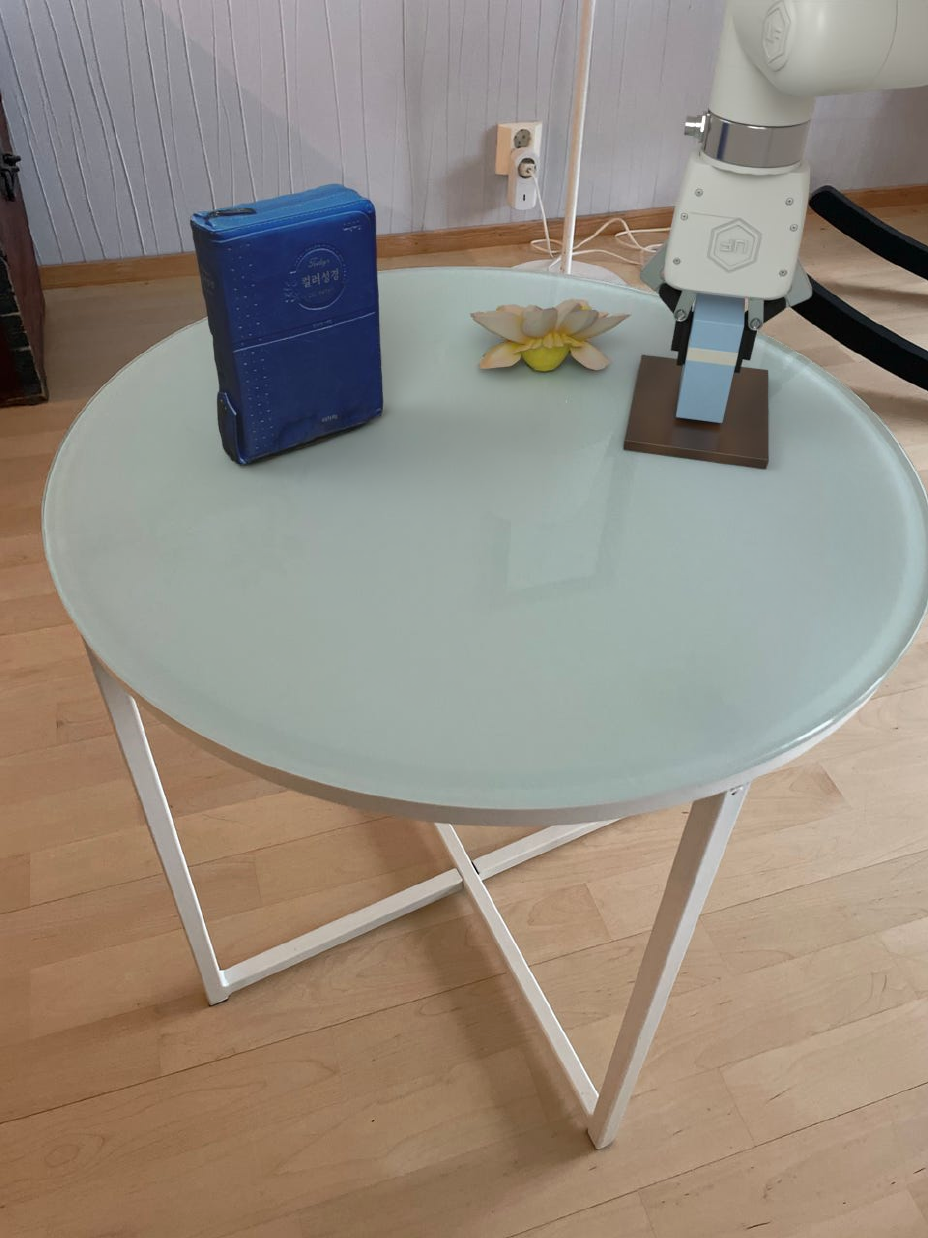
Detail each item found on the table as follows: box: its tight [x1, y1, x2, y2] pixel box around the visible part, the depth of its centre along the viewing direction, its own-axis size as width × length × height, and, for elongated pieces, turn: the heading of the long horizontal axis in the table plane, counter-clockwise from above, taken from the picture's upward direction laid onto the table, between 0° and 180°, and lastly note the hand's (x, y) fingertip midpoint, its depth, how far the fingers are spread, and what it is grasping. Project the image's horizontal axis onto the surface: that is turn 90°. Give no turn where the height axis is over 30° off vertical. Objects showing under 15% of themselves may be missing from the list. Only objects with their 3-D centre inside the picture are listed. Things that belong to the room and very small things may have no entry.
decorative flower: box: [469, 298, 632, 373], centre depth 94 cm, size 15×11×10 cm
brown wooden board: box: [623, 354, 770, 470], centre depth 90 cm, size 12×16×1 cm
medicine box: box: [676, 293, 746, 423], centre depth 86 cm, size 4×8×9 cm, turn 167°
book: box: [189, 183, 384, 466], centre depth 79 cm, size 14×5×20 cm, turn 126°
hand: (708, 360), depth 87 cm, fingers closed on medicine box, 4 cm apart
